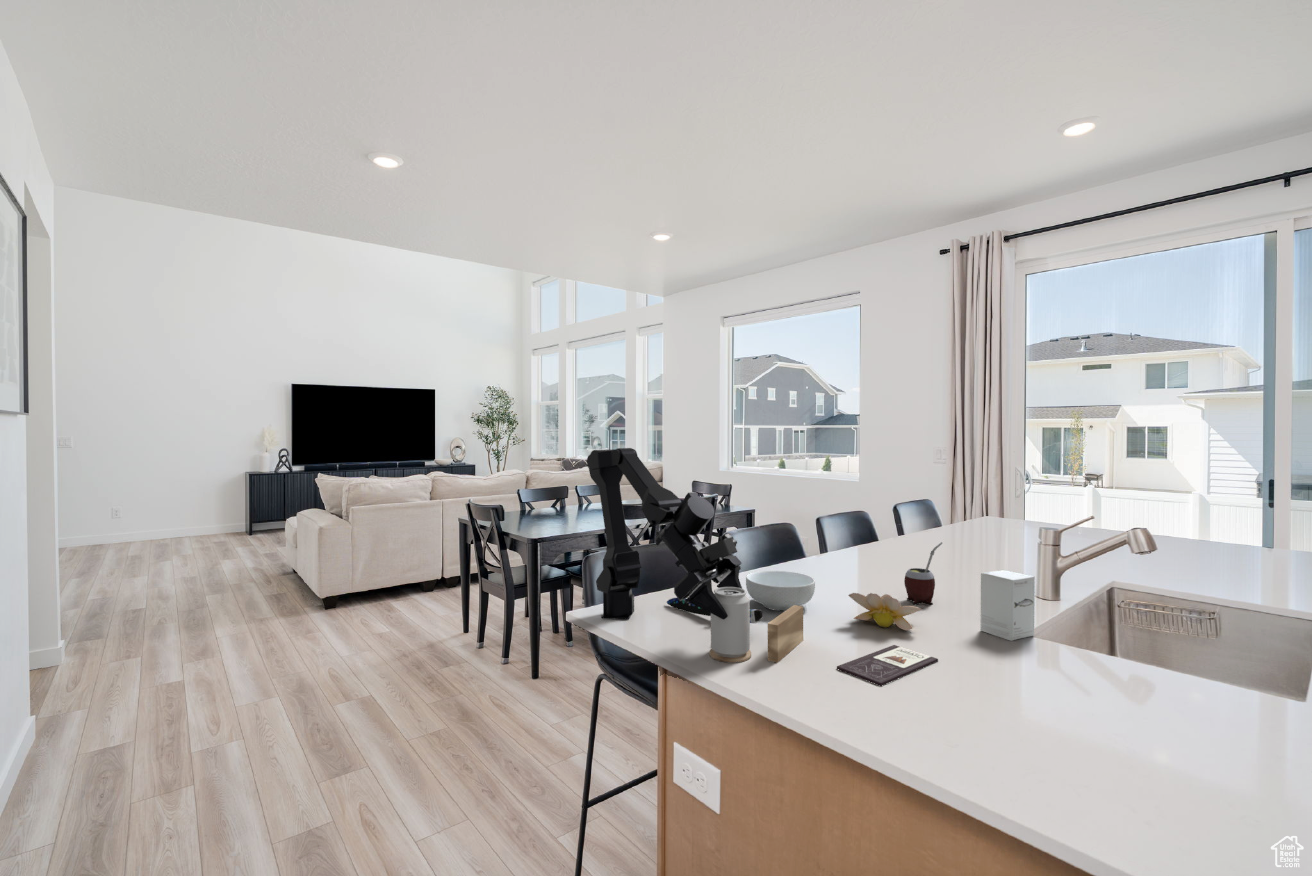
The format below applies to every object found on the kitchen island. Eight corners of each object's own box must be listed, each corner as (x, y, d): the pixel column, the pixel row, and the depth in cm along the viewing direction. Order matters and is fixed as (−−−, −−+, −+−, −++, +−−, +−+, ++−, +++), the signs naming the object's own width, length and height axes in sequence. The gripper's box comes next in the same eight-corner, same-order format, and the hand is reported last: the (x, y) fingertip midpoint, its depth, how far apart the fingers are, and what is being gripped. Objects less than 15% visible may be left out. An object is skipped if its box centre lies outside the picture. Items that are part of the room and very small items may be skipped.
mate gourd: (899, 602, 150) (899, 542, 150) (913, 596, 155) (913, 538, 155) (929, 608, 144) (929, 546, 144) (943, 602, 150) (943, 542, 149)
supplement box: (1012, 641, 122) (1012, 579, 121) (979, 630, 128) (979, 572, 128) (1035, 636, 125) (1036, 576, 124) (1002, 625, 131) (1002, 568, 131)
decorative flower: (936, 616, 132) (929, 574, 131) (920, 642, 124) (912, 597, 123) (869, 608, 142) (862, 569, 141) (850, 631, 134) (842, 590, 133)
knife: (766, 629, 126) (764, 608, 126) (755, 632, 124) (754, 610, 124) (675, 611, 150) (674, 593, 150) (666, 613, 148) (665, 594, 149)
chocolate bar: (836, 666, 108) (894, 644, 119) (836, 671, 108) (894, 649, 119) (881, 683, 101) (937, 658, 112) (881, 688, 101) (937, 663, 112)
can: (753, 647, 118) (753, 586, 118) (745, 661, 111) (745, 596, 111) (716, 643, 120) (715, 583, 120) (706, 656, 113) (706, 593, 113)
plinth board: (767, 660, 112) (767, 623, 112) (793, 638, 124) (793, 604, 124) (777, 662, 111) (777, 625, 111) (803, 640, 123) (803, 606, 123)
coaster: (708, 661, 112) (708, 658, 112) (711, 646, 120) (710, 643, 120) (751, 663, 111) (751, 661, 111) (751, 648, 119) (751, 645, 119)
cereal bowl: (823, 616, 139) (823, 586, 139) (751, 616, 139) (751, 586, 139) (805, 596, 156) (805, 569, 156) (741, 596, 156) (741, 569, 156)
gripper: (687, 529, 110) (743, 598, 104) (732, 516, 125) (782, 575, 119) (652, 566, 114) (703, 635, 108) (699, 549, 130) (746, 608, 124)
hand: (736, 611), depth 115 cm, fingers open, 9 cm apart
